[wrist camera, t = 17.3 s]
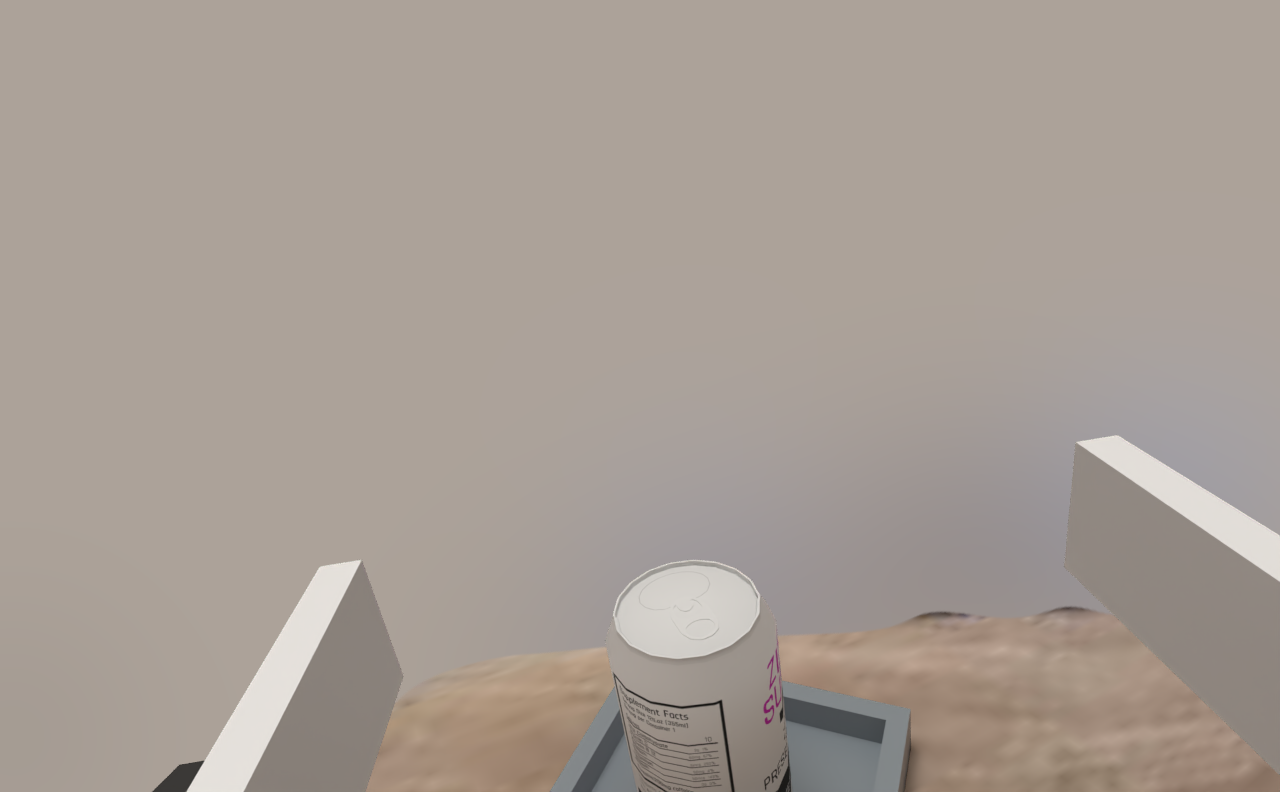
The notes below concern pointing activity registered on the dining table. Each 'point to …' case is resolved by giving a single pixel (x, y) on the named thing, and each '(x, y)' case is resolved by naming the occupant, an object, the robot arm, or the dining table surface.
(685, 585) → the supplement can
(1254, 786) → the dining table surface
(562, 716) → the dining table surface
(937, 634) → the dining table surface
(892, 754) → the tray
